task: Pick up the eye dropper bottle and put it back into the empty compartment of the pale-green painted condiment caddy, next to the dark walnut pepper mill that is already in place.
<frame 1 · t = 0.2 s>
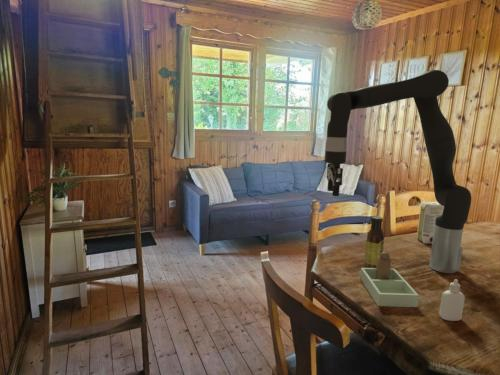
hand: (332, 193, 121), 29 cm above the table, fingers open, 8 cm apart
caddy: (386, 291, 108), on the table
sauce bottle: (372, 266, 127), on the table
eye dropper bottle: (449, 318, 94), on the table
juice carton: (427, 241, 154), on the table
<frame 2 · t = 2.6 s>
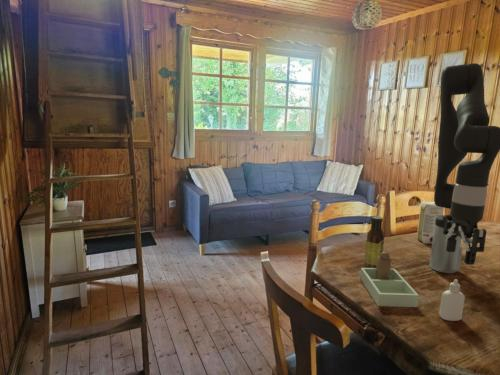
hand: (459, 257, 90), 19 cm above the table, fingers open, 8 cm apart
nothing on the table moved.
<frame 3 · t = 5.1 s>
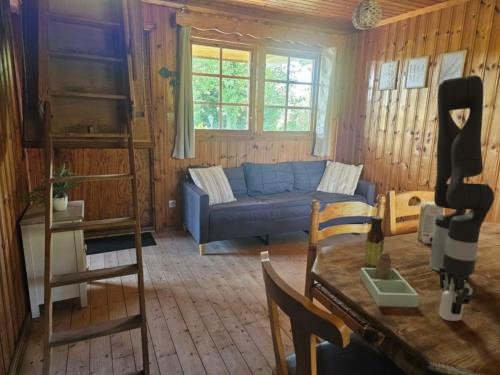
hand: (451, 309, 93), 3 cm above the table, fingers closed on eye dropper bottle, 3 cm apart
eye dropper bottle: (449, 318, 94), on the table, touching gripper
everything else where it was.
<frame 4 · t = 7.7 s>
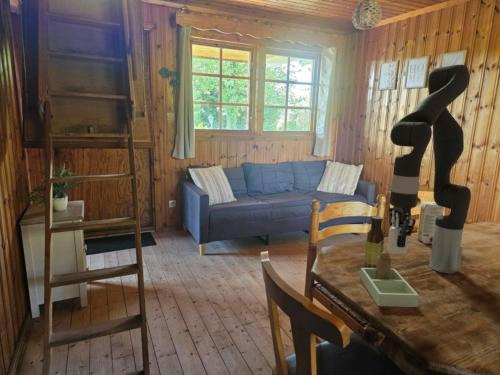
hand: (397, 244, 100), 18 cm above the table, fingers closed on eye dropper bottle, 3 cm apart
eye dropper bottle: (396, 252, 101), point 16 cm above the table, touching gripper
everything else where it was.
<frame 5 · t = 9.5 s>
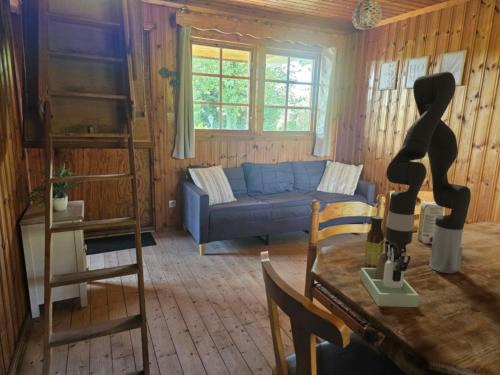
hand: (393, 277, 102), 7 cm above the table, fingers closed on eye dropper bottle, 3 cm apart
eye dropper bottle: (392, 286, 103), point 4 cm above the table, touching gripper
everything else where it was.
when the fingers open (6 cm above the table, at t = 10.6 s): eye dropper bottle drops 2 cm, resting on caddy.
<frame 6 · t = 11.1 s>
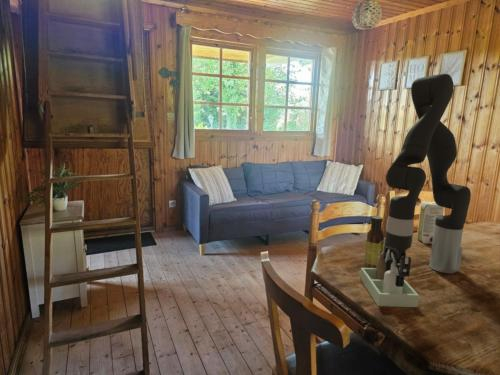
hand: (393, 279, 102), 7 cm above the table, fingers open, 8 cm apart
eye dropper bottle: (391, 295, 104), point 1 cm above the table, touching caddy
everything else where it was.
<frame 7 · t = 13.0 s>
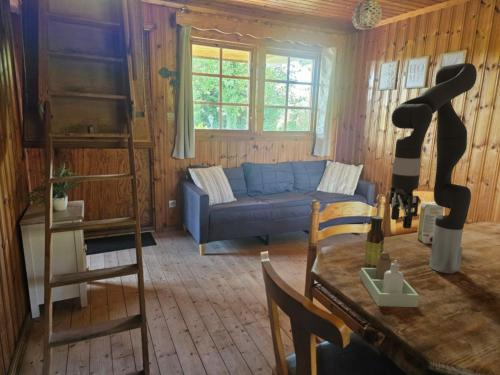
hand: (400, 223, 101), 24 cm above the table, fingers open, 8 cm apart
nothing on the table moved.
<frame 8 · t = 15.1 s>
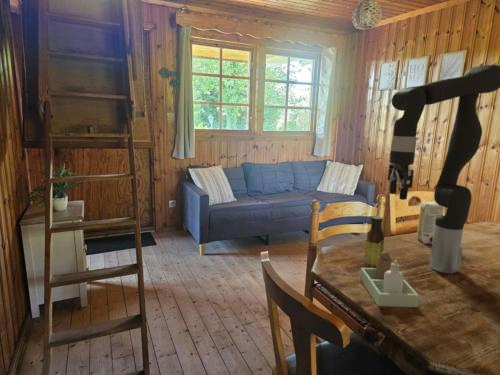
hand: (397, 196, 112), 30 cm above the table, fingers open, 8 cm apart
nothing on the table moved.
at the end: eye dropper bottle inside the target area on the caddy (0.3 cm from its centre), point 0.8 cm above the caddy's base; eye dropper bottle tilted 0°; the gripper is holding nothing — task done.
